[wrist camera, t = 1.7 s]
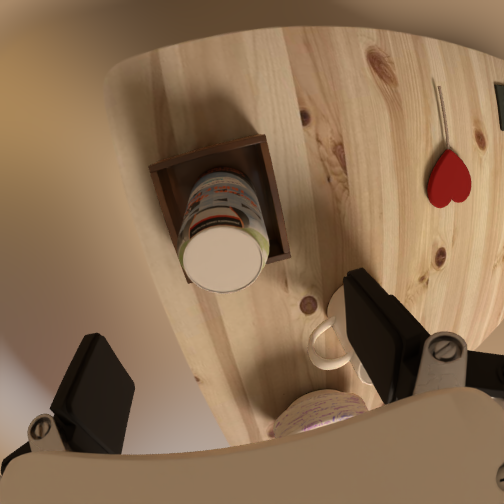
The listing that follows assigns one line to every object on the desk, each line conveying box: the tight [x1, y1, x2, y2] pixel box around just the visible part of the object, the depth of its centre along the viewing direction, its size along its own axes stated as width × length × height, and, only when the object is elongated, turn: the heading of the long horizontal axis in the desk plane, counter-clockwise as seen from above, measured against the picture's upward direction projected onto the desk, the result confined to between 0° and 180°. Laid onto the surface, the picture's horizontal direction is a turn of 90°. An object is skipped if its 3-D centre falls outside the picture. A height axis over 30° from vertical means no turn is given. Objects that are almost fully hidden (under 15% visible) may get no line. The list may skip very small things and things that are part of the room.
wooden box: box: [149, 134, 291, 284], centre depth 26 cm, size 11×10×4 cm
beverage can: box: [177, 167, 269, 294], centre depth 22 cm, size 6×7×12 cm
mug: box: [308, 286, 389, 385], centre depth 30 cm, size 12×8×10 cm, turn 90°
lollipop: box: [427, 86, 471, 208], centre depth 27 cm, size 8×1×15 cm
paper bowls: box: [273, 389, 368, 439], centre depth 39 cm, size 15×15×8 cm
